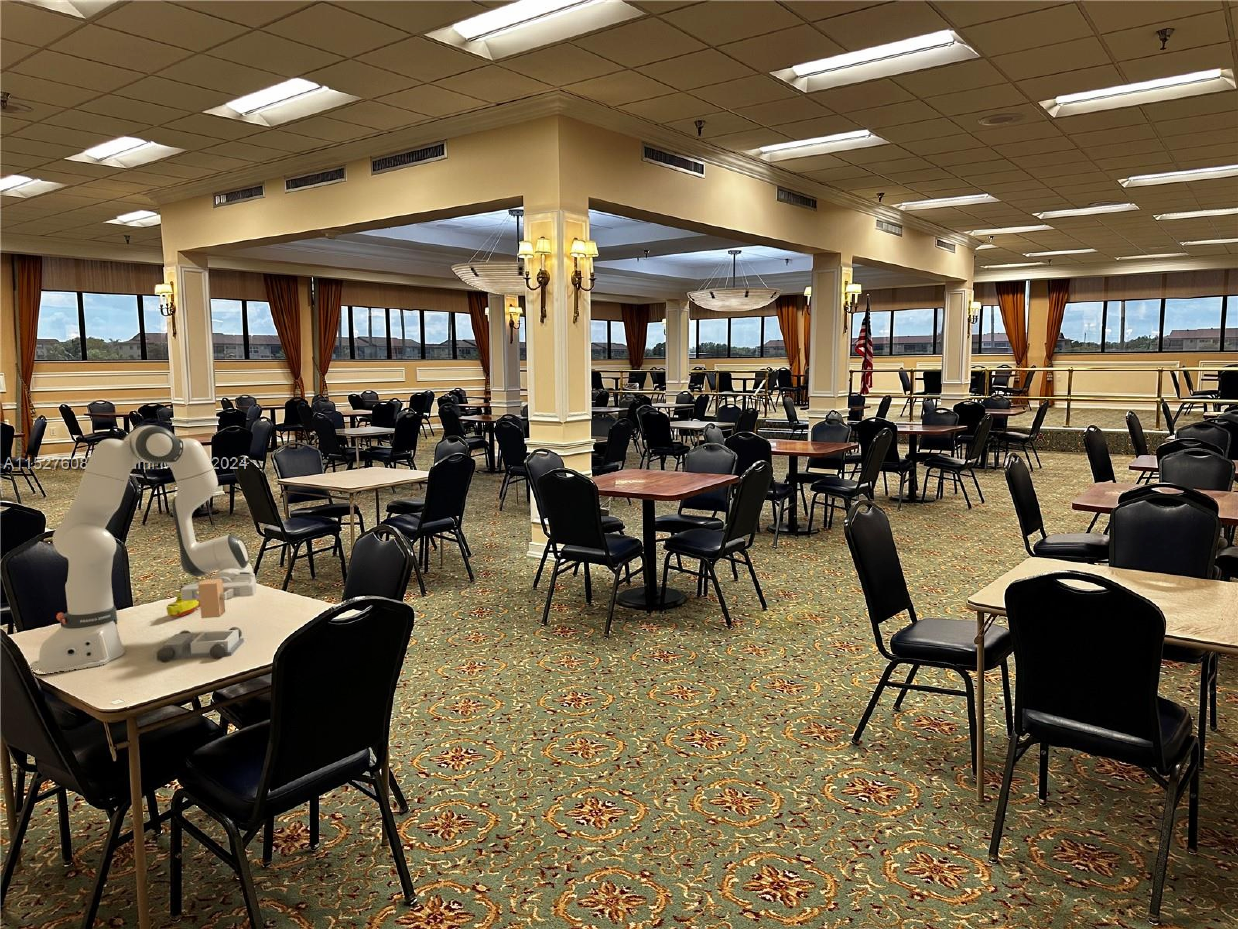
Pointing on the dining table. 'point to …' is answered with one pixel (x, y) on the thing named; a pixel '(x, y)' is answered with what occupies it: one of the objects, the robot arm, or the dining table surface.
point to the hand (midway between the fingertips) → (210, 597)
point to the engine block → (211, 598)
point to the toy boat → (182, 606)
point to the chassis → (201, 645)
